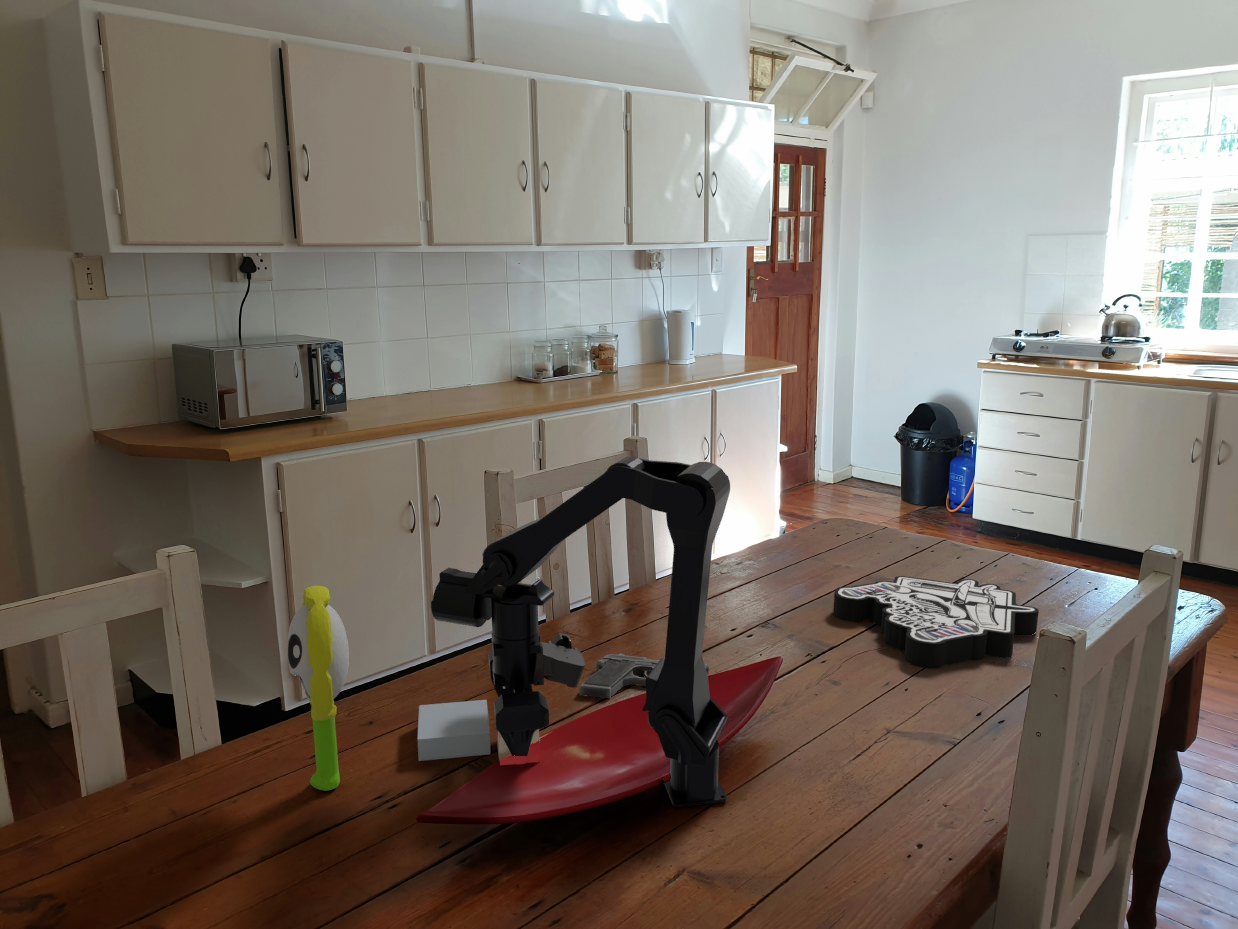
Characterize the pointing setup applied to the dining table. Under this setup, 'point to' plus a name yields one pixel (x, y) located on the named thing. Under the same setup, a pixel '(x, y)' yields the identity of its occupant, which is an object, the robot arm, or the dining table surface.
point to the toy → (320, 674)
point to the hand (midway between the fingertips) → (518, 745)
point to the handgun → (617, 674)
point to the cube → (502, 746)
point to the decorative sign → (939, 618)
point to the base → (453, 730)
